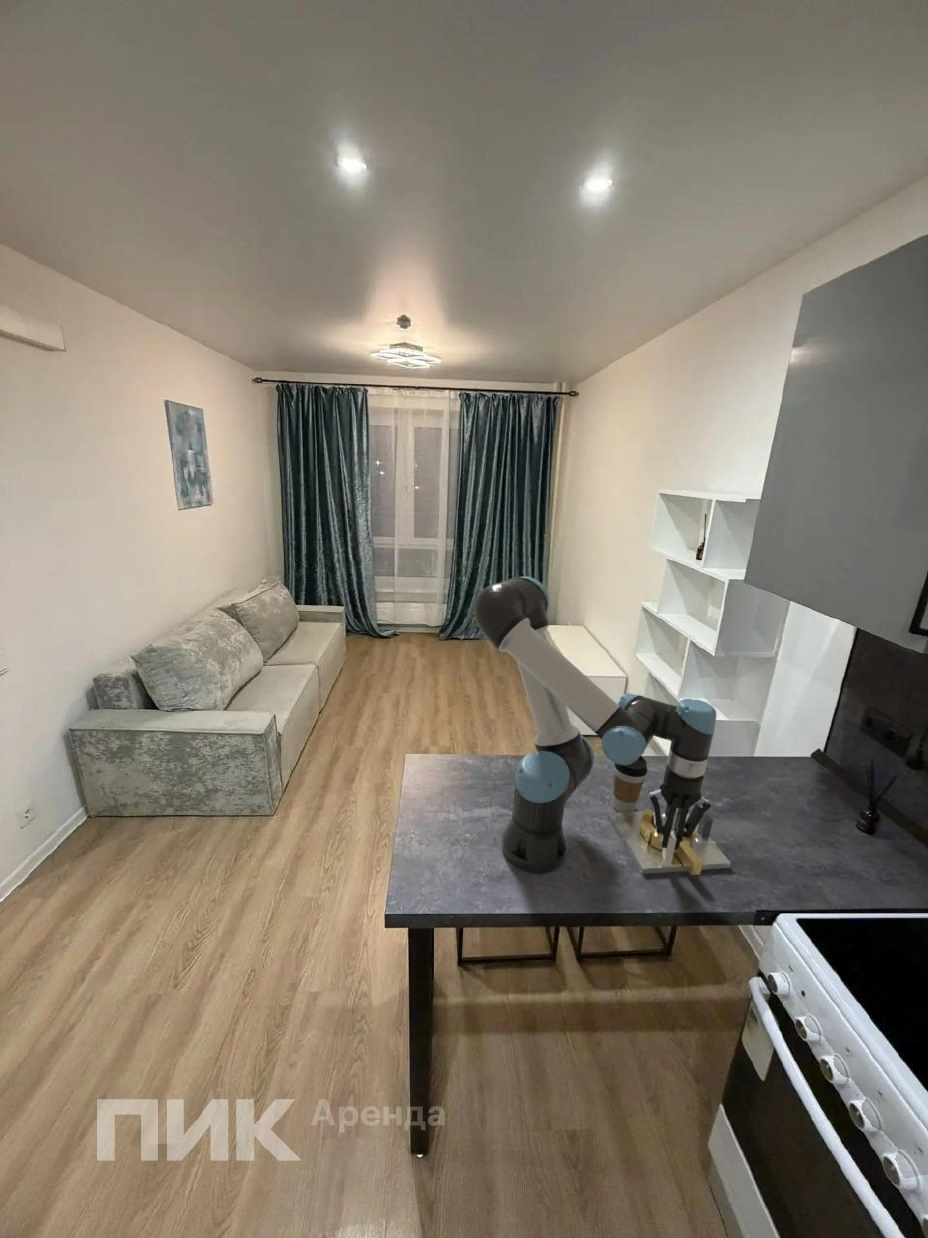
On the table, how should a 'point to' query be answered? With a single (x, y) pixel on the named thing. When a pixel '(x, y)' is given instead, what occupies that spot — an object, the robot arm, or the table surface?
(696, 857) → the brass ball clamp
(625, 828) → the flange plate
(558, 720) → the robot arm
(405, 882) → the table surface
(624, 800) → the coffee cup
